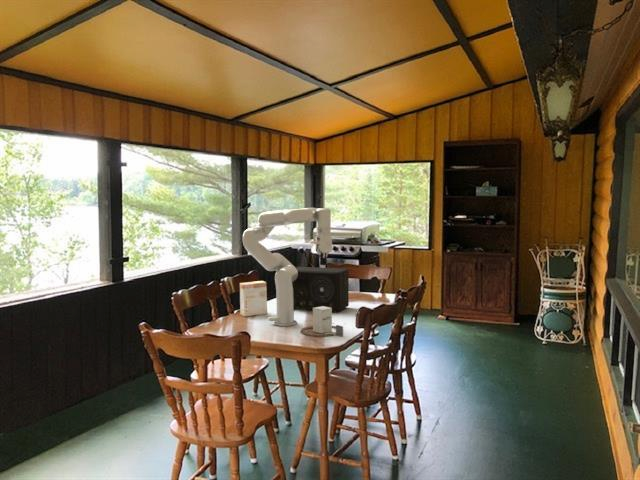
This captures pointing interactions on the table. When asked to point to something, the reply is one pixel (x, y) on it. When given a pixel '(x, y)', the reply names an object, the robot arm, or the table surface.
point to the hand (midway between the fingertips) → (323, 264)
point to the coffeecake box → (253, 298)
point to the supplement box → (322, 319)
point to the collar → (338, 332)
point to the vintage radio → (321, 288)
